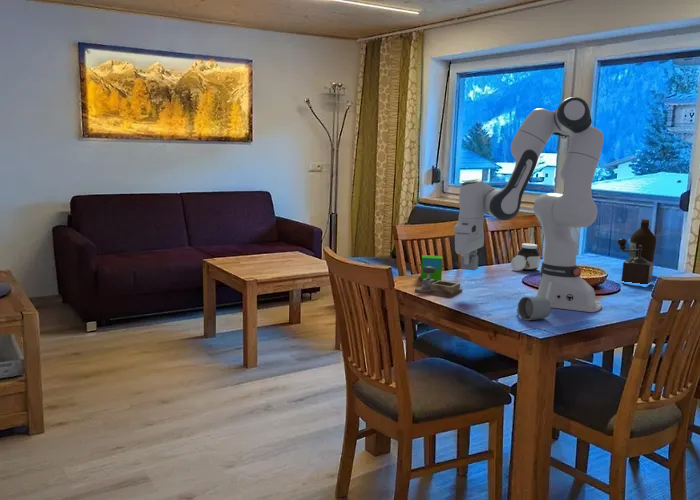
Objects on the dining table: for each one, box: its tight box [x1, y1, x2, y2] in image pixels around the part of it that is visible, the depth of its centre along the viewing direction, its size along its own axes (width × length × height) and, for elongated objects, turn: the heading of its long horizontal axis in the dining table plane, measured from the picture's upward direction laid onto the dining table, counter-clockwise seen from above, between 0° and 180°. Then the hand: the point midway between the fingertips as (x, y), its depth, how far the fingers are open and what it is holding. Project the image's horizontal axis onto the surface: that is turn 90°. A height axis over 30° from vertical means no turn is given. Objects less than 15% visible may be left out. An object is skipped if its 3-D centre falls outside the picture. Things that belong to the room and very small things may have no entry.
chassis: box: [414, 278, 463, 298], centre depth 239 cm, size 14×12×4 cm
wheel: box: [423, 266, 435, 280], centre depth 241 cm, size 5×5×5 cm
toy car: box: [418, 254, 445, 282], centre depth 261 cm, size 10×13×10 cm
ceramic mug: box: [516, 296, 552, 322], centre depth 208 cm, size 11×8×8 cm
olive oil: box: [628, 218, 657, 262], centre depth 287 cm, size 11×11×25 cm
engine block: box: [460, 253, 479, 271], centre depth 232 cm, size 5×4×6 cm
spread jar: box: [510, 242, 541, 272], centre depth 288 cm, size 12×11×12 cm
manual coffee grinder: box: [617, 238, 655, 284], centre depth 268 cm, size 16×11×18 cm
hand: (469, 262), depth 232 cm, fingers closed on engine block, 4 cm apart
